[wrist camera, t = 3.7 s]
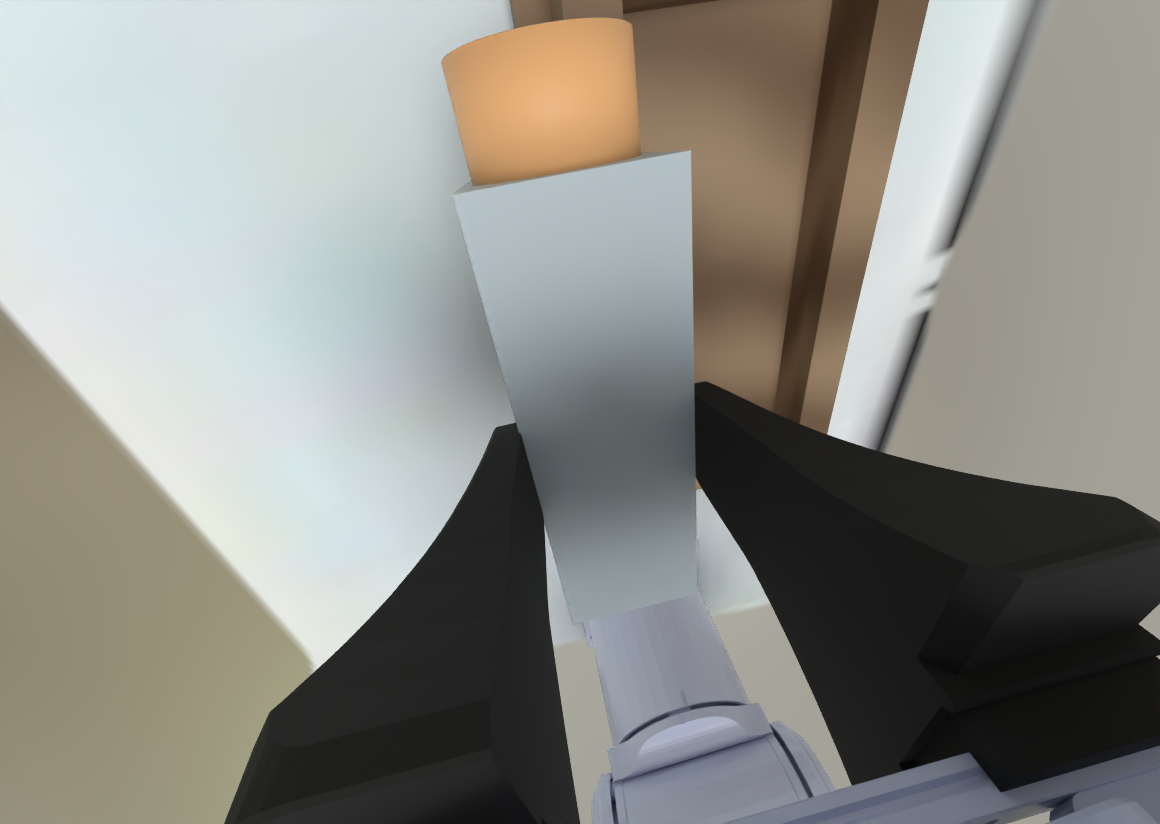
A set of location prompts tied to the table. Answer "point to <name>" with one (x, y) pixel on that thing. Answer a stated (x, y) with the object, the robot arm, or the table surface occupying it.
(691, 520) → the orange-capped grey pillar
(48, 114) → the table surface
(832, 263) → the wooden rail tray
